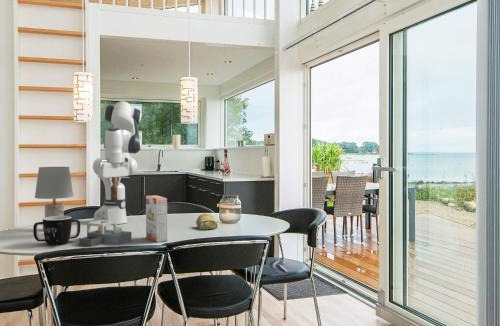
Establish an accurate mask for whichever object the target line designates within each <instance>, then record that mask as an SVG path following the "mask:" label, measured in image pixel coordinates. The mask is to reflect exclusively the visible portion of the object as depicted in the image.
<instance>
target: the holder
mask: <svg viewBox="0 0 500 326" xmlns="http://www.w3.org/2000/svg"><path fill="white" fill-rule="evenodd" d="M101 244H103V243H102V237H96V236H88V237H87V236H85V237H80V238H79V239H78V246H83V247H95V246H98V245H101Z"/></svg>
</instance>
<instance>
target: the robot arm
mask: <svg viewBox="0 0 500 326" xmlns="http://www.w3.org/2000/svg"><path fill="white" fill-rule="evenodd" d="M103 117H104V120H105V121H106V122H109V123H112V125H113V127H110V128H107V129H106V130H105V135H104V139H103V148H104V149H105V150H104V156H103V157H99V158H98V157H97V158H95V160H94V161H93V163H92V169H93V172H94V173H95V174H96V176H97V177H98V179H101V180H102V181H103V185H104V189H105V191H104V192H105V198H104V200H102V206H101V207H100V208H98V209H97V210H96V211H95V212H94V214H93V219H91V220H90V221H89V223H90V222H95V221H99V220H105V221H117V225H120V224H121V225H122V224H126V223H128V222H129V221H128V217H127V216H128V215H127V212H126V211H127V210H126V203H127V200H126V199H127V198H126V187H125V185H124V183H122V182H121V179H122V178H123V177H128V176H133V175H135V174H136V173H137V170H138V163H137V162H138V161H136V159H135V158H133V157H132V156H131V155H130V154H137V153H139V152H140V151H141V149H142V141H141V138H140V134H139V133H140V132H139V126H138V125H139V124H140V122H141V121H142V112H141V110H140V109H139V108H136V107H135V108H133V107H132V106H131V104H130V103H129V102H127V101H124V100H122V101H118V102H117V103H116V104H115V105H114V104H109V105H106V106H105V108H104V110H103ZM130 133H131V134H130ZM116 169H117V170H116ZM112 177H117V200H111V186H113V183H112V181H111V180H112Z"/></svg>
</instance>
